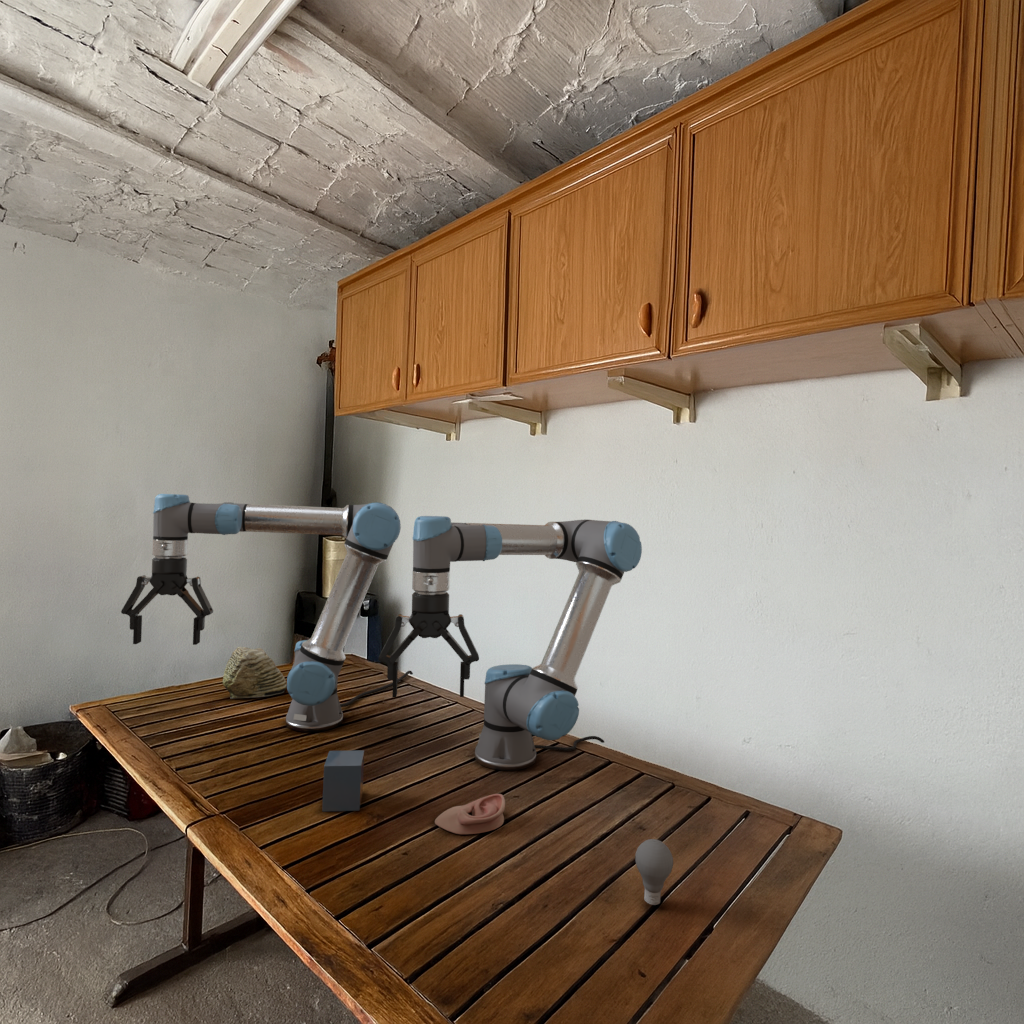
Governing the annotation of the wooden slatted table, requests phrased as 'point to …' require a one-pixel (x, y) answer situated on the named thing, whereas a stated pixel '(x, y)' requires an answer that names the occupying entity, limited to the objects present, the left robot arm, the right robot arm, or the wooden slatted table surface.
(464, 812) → the anatomical model
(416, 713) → the wooden slatted table surface
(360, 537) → the left robot arm
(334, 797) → the brick
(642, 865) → the light bulb
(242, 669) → the fossil
